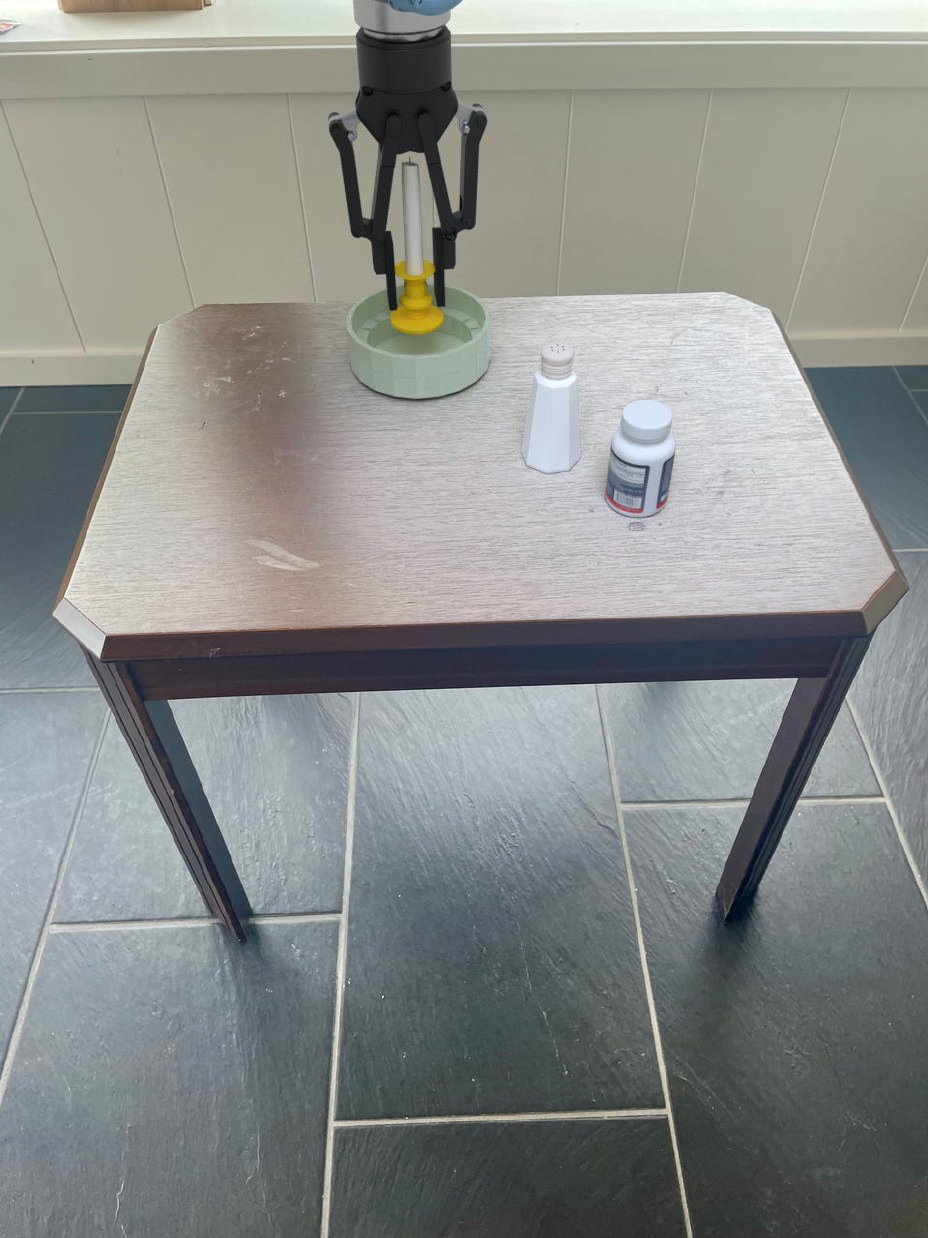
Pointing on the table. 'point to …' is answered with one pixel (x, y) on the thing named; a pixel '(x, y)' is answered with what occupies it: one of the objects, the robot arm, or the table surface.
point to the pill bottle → (641, 459)
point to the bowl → (420, 346)
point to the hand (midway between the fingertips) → (416, 300)
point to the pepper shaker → (553, 412)
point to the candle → (414, 265)
